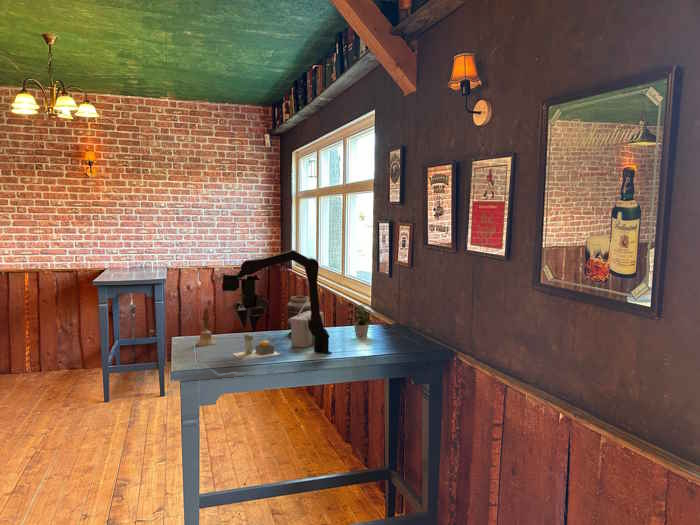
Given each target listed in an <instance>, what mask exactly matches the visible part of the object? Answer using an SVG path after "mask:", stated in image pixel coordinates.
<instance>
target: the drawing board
mask: <svg viewBox="0 0 700 525" xmlns="http://www.w3.org/2000/svg"><path fill="white" fill-rule="evenodd" d="M232 355H234V356H236V357H238V358H239V359H241V360H243V361H245V360H252V359H260V358H264V357H272V356H279V355H280V353H279V352H278V351H275V350H274V353H269V354H263V355H261V354H259V353H257V352H256V349H253V353H252V354H245V351H241V352H240V351H239V352H234V353H232Z"/></svg>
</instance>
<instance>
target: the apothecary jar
mask: <svg viewBox="0 0 700 525" xmlns="http://www.w3.org/2000/svg"><path fill="white" fill-rule="evenodd" d="M307 300H308V301H307ZM306 301H307V303H306ZM305 303H306V305H305V306H304V304H305ZM286 306H287V308H288V309H289V318H288V319H287V321H286V322H287V325H288V326H289V327H290V328H291V322H290V318H292V317H295V316H297V315H298V314H299V312H300V311H301V309H302V307H303V306H304V308H303V309H302V311H301V313H300V314H302V313H304V312H307V311H311V308H310V298H309V295H308V296H306V295H294V296H291V297H290V301H289V302H288V303H287V305H286ZM290 334H291V331H289V335H290Z"/></svg>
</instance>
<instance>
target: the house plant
mask: <svg viewBox="0 0 700 525" xmlns="http://www.w3.org/2000/svg"><path fill="white" fill-rule="evenodd" d="M355 305H356V307H357V310H356V309H354V308H353V307H351V306H348V307H349V308H350V309H351V311H353V313H354V314H355V316H356V317H355V316H352V315H350V317H349V318H348V319H351V318H352V319H353V320H354V321H356V322H355V323H354V324H353V325H354V332H355V334H354V335H355V338H356V337H358V338H357V339H364V338H363V337H367V338H368V333H369V326H370V323H368V322H369V321H371V320H373V319H374V318H373V319H370V318H371V317H370V314H369V313H370V312H371V311H372V308H370V309H369V311H368V312H367V313H366V311H365V310H366V308H365V306H364V305H365V304H360V306H359V304H358V303H356V304H355ZM365 313H366V315H365Z"/></svg>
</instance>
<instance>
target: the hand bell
mask: <svg viewBox="0 0 700 525" xmlns="http://www.w3.org/2000/svg"><path fill="white" fill-rule="evenodd" d="M202 319H203V325H204V326H203V330H202V331H201V332H200V335H199V339H198V341H197V342H196V346H199V347H210V346H215V345H216V343H217V342H216V341H214V339H213V336H212V331H210V330H209V321H210V320H209V319H210V311H209V309H208V307H205V308H204V310H203V314H202Z"/></svg>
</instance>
